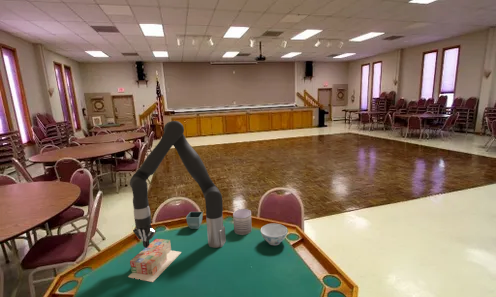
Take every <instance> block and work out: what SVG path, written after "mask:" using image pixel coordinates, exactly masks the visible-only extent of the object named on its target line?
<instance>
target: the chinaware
mask: <svg viewBox="0 0 496 297" xmlns="http://www.w3.org/2000/svg"><path fill="white" fill-rule="evenodd" d="M260 234H261V236H262V238H263V240H264V241H266V242H267V243H268V244H269V245H270V246H278V245H280V244H281V242H283V241H284V240H285V239H286V237H287V234H288V228H287V226H285V225H282V224H280V223H267V224H265V225H263V226H261V228H260Z"/></svg>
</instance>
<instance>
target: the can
mask: <svg viewBox="0 0 496 297" xmlns="http://www.w3.org/2000/svg"><path fill="white" fill-rule="evenodd" d="M232 216H233V217H232V218H233V232H234V233H235V234H237V235H241V236H245V235H248V234H250V233H251V232H252V230H253V229H252V211H251V210H250V209H247V208H240V209H239V208H238V209H236V210H235V211H233V214H232Z"/></svg>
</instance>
